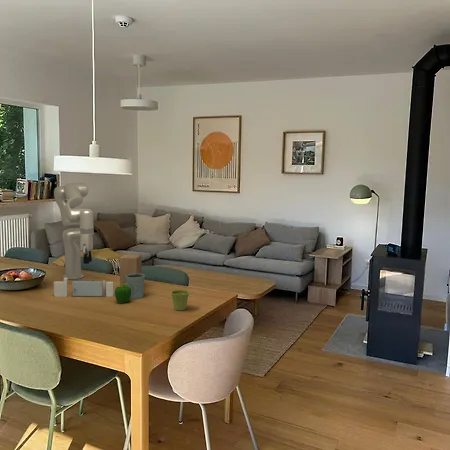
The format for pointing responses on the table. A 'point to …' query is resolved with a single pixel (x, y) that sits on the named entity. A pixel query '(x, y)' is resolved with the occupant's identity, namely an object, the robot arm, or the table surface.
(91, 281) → the dark grey block
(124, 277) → the wooden block
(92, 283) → the door
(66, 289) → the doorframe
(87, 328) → the table surface
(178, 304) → the plant pot
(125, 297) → the bell pepper
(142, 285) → the grey blue cup
